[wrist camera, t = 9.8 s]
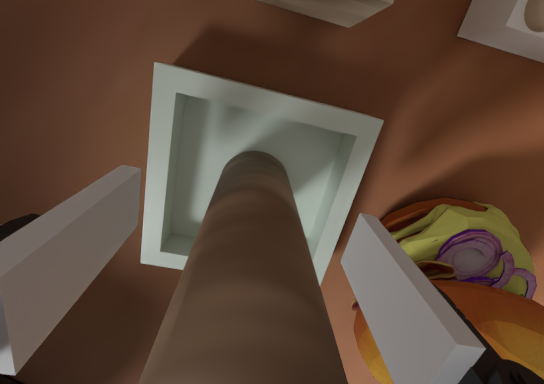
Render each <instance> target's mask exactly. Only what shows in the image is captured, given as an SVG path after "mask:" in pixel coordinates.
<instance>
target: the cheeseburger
mask: <svg viewBox="0 0 544 384" xmlns="http://www.w3.org/2000/svg"><path fill="white" fill-rule="evenodd" d="M381 224H382V225H383V226H384V227H385V228H386V229H387V231H388V232H389V233H390V234H391V235H392V237H393V238H394V239H395V240H396V241H397V243H398V244H399V245H400V246H401V247H402V249H403V250H404V251H405V252H406V253H407V255H408V256H409V257H410V258H411V259H412V261H413V262H414V263H415V264H416V265H417V267H418V268H419V269H420V270H421V271H422V273H423V274H424V275H425V276H426V277H427V279H428V280H429V281H430V282H432V283H433V284H435V285H436V286H437V287H438V288H440V289H441V290H442V291H443V292H444V293H446V294H447V295H448V297H449V298H450V299H451V300H452V301H453V302H454V304H455V305H456V308H459V309H460V311H461V312H462V313H463V314H464V315H465V316H466V317H465V318H466V319H468V320H469V321H470V322H471V323H472V324H473V326H474V327H475V328H476V329H477V330H478V331H479V333H480V334H481V335H482V336H483V337H484V338H485V340H486V341H487V342H488V343H489V344H490V345H491V346H492V348H493V349H494V350H495V351H496V352H497V353H498V355H499V356H500V357H501V358H502V359H509V360H512V361H514V362H517V363H520V364H521V365H523V366H525V367H526V368H528V369H530V370H532V371H533V372H534V373H536V374H537V375H538V376H540V377H541V378H542V379H543V380H544V306H542V305H541V304H539V303H537V302H535V301H534V300H531V299H532V297H533V295H534V292H535V289H536V287H537V285H536V277H535V276H534V267H533V263H532V260H531V256H530V254H529V252H528V251H527V250H526V248H525V247H524V245H523V244H522V243H521V240H520V235H519V232H518V230H517V229H516V228H515V227H514V226H513V225H512V224H511V223H510V221H509V218H508V217H507V216H506V215H505V214H504V213H503V212H502V211H501V210H500V209H498V208H496V207H495V206H493V205H491V204H481V203H478V202H469V201H463V200H457V199H451V198H441V199H435V200H428V201H422V202H416V203H414V204H412V205H409V206H407V207H405V208H402V209H400V210H397V211H395V212H393V213H390V214H388V215H387V216H386V217H385V218H384V219H383V220H382V221H381ZM351 309H352V310H354V311H356V310H358V311H357V313H356V318H355V322H354V333H355V337H356V341H357V345H358V348H359V351H360V353H361V355H362V358H363V359H364V361H365V363H366V364H367V366H368V368H369V369H370V371H371V373H372V374H373V376H374V378H376V379H377V380H378V381H380V382H381V383H382V384H394V383H393V381H392V379H391V377H390V374H389V372H388V370H387V367H386V365H385V363H384V361H383V358H382V356H381V354H380V351H379V349H378V347H377V345H376V342H375V340H374V338H373V335H372V333H371V331H370V329H369V326H368V324H367V322H366V320H365V317H364V315H363V313H362V310H361V308H360V306H359V304H358V301H357V299H355V300H354V301H353V302H352V304H351Z"/></svg>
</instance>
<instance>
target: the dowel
mask: <svg viewBox="0 0 544 384" xmlns="http://www.w3.org/2000/svg"><path fill="white" fill-rule="evenodd" d="M138 384H348V382H347V378H346V375H345V372H344V368H343V365H342V361H341V358H340V354H339V351H338V347H337V344H336V340H335V337H334V334H333V330H332V327H331V323H330V320H329V316H328V313H327V309H326V306H325V303H324V299H323V296H322V292H321V289H320V285H319V282H318V278H317V275H316V272H315V268H314V265H313V261H312V258H311V254H310V251H309V247H308V244H307V240H306V237H305V234H304V230H303V227H302V223H301V220H300V216H299V213H298V209H297V206H296V203H295V199H294V196H293V192H292V189H291V185H290V182H289V178H288V175H287V172H286V170H285V168H284V166H283V165H282V163H281V162H280V161H279V160H278V159H276V158H275V157H274V156H272V155H270V154H268V153H265V152H262V151H247V152H243V153H240V154H238V155H236V156H234V157H233V158H232V159H230V160H229V161H228V162H227V164H226V165H225V167H224V168H223V170H222V173H221V175H220V178H219V180H218V183H217V185H216V188H215V191H214V193H213V196H212V198H211V201H210V203H209V206H208V208H207V211H206V213H205V216H204V218H203V221H202V223H201V226H200V228H199V231H198V233H197V236H196V238H195V241H194V244H193V246H192V249H191V251H190V254H189V256H188V259H187V261H186V264H185V266H184V269H183V271H182V274H181V276H180V279H179V281H178V284H177V286H176V289H175V292H174V294H173V297H172V299H171V302H170V304H169V307H168V309H167V312H166V314H165V317H164V319H163V322H162V324H161V327H160V329H159V332H158V334H157V337H156V339H155V342H154V345H153V347H152V350H151V352H150V355H149V357H148V360H147V362H146V365H145V367H144V370H143V372H142V375H141V377H140V380H139V382H138Z"/></svg>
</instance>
